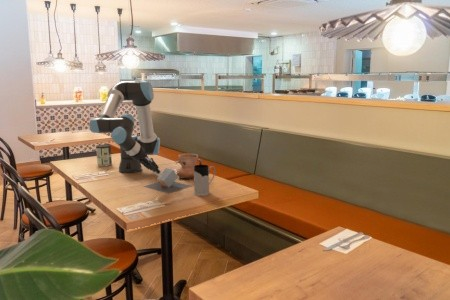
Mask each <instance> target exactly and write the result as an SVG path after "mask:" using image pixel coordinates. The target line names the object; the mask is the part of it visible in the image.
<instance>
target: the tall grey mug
mask: <svg viewBox="0 0 450 300" xmlns="http://www.w3.org/2000/svg"><path fill="white" fill-rule="evenodd" d="M211 168H213V174H212V175H213V176H212V178H211V180H210V179H209V178H210V176H209V175H210V172H211V171H210V170H211ZM215 174H216V168H215V166H214V165H211V166H209V165H208V164H202V165H199V164H196V165H195V166H194V178H193V182H194V183H193V186H194V187H193V189H194V191H193V195H194V196H199V197H201V196H202V197H204V196H208V195H210V194H211V193H210V185H211V183H213V180H214V179H215V176H216V175H215Z"/></svg>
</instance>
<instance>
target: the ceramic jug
mask: <svg viewBox="0 0 450 300" xmlns="http://www.w3.org/2000/svg"><path fill="white" fill-rule="evenodd" d="M177 157H178V160H176V161H174V162H175V164H179V165H180V168H178V169H177V171H176V175H177V176H178V177H179V178H181V179H184V180H185V179H186V180H187V179H188V180H190V179H191V180H192V179H194V166H195V165H197V162H199V164H198V165H203V161H202V160H201V158H199V155H198V154H196V153H182V154H178V156H177Z"/></svg>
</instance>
